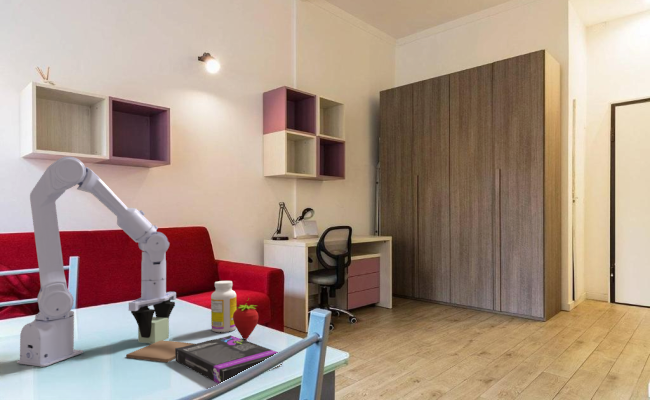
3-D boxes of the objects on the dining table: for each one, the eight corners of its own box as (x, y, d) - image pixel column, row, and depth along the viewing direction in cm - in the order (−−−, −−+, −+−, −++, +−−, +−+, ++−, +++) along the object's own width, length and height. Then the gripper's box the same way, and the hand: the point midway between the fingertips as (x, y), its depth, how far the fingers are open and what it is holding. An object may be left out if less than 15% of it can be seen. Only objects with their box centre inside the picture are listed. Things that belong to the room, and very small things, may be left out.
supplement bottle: (234, 325, 117) (234, 279, 117) (238, 331, 111) (238, 282, 111) (209, 328, 114) (209, 281, 115) (213, 334, 108) (212, 284, 109)
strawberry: (248, 333, 108) (248, 294, 109) (263, 339, 103) (263, 299, 103) (228, 338, 105) (227, 297, 105) (242, 344, 99) (242, 302, 99)
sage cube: (154, 343, 101) (154, 322, 101) (138, 342, 102) (138, 321, 103) (168, 337, 106) (168, 318, 106) (152, 336, 107) (152, 316, 107)
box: (282, 370, 84) (231, 348, 98) (283, 353, 85) (231, 332, 99) (221, 390, 75) (174, 362, 89) (222, 370, 75) (174, 345, 89)
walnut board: (167, 362, 88) (167, 359, 88) (126, 357, 91) (126, 354, 91) (199, 346, 98) (199, 344, 98) (161, 342, 101) (161, 340, 101)
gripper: (145, 284, 96) (145, 343, 96) (185, 275, 110) (185, 327, 110) (121, 283, 99) (121, 341, 98) (163, 274, 112) (163, 325, 112)
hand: (153, 334), depth 104 cm, fingers closed on sage cube, 5 cm apart
